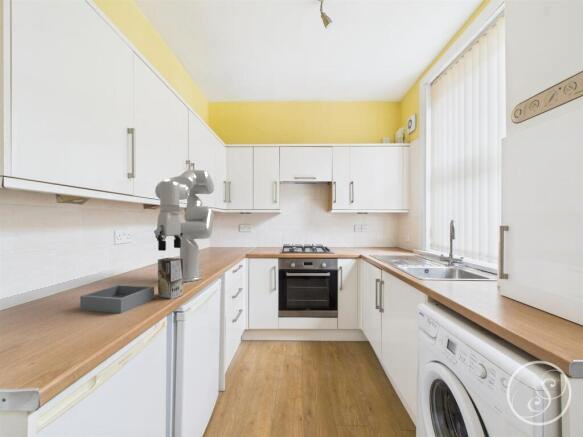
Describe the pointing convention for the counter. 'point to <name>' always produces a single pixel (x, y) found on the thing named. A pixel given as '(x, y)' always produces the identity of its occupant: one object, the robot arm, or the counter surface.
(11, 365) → the counter surface
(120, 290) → the box
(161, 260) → the coffee box
